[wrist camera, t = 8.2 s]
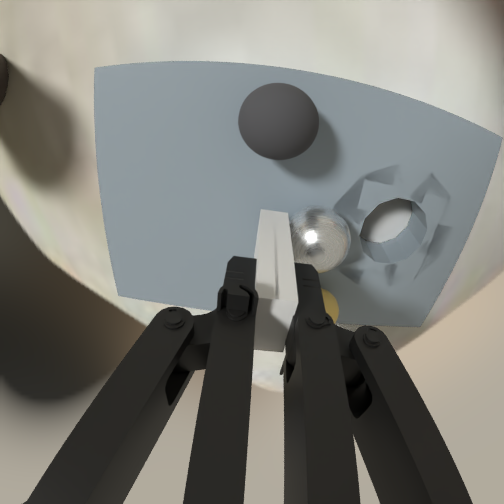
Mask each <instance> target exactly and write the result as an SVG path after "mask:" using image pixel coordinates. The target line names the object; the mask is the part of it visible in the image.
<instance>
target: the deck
mask: <svg viewBox="0 0 504 504" xmlns="http://www.w3.org/2000/svg"><path fill="white" fill-rule="evenodd" d="M270 83H286V84H290V85H293V86H295V87H297V88H299V89H301V90H302V91H304V92H305V93H306V94H307V95H308V96H309V97H310V98H311V100H312V101H313V103H314V104H315V106H316V108H317V111H318V116H319V129H318V133H317V136H316V138H315V140H314V142H313V143H312V145H311V146H310V147H309V148H308V149H307V150H306V151H305V152H303V153H302V154H300V155H299V156H296V157H294V158H291V159H286V160H272V159H268V158H265V157H262V156H260V155H258V154H257V153H255V152H254V151H253V150H251V149H250V148H249V147H248V146H247V144H246V143H245V142H244V140H243V138H242V136H241V134H240V131H239V126H238V116H239V111H240V108H241V106H242V103H243V102H244V100H245V99H246V97H247V96H248V95H249V94H250V93H251V92H252V91H254V90H255V89H257V88H259V87H261V86H263V85H266V84H270ZM94 119H95V142H96V157H97V169H98V179H99V188H100V197H101V205H102V212H103V219H104V225H105V231H106V237H107V243H108V249H109V254H110V259H111V264H112V269H113V274H114V279H115V283H116V287H117V292H118V296H122V297H128V298H133V299H139V300H145V301H151V302H157V303H163V304H169V305H176V306H183V307H189V308H196V309H203V310H211V311H213V310H215V309H216V308H217V296H218V291H219V289H220V288H221V287H222V286H223V283H224V278H225V273H226V268H227V263H228V261H229V260H230V259H231V258H232V257H233V256H240V257H248V258H254V253H255V246H256V239H257V232H258V225H259V218H260V211H261V209H263V210H271V211H278V212H286V213H288V217H289V220H290V218H291V217H292V216H293V215H294V214H295V213H296V212H298V211H299V210H301V209H303V208H305V207H308V206H313V205H321V206H326V207H329V208H331V209H333V210H335V211H336V212H338V213H339V214H340V215H341V216H342V217H343V218H344V220H345V221H346V223H347V225H348V227H349V230H350V235H351V243H350V248H349V252H348V254H347V256H346V258H345V259H344V260H343V262H342V263H341V264H340V265H339V266H337V267H336V268H334V269H333V270H331V271H328V272H324V273H318V275H319V280H320V281H319V282H320V285H321V288H322V289H325V290H327V291H329V292H330V293H331V294H332V295H333V296H334V297H335V298H336V300H337V303H338V306H339V315H338V319H337V321H336V323H341V324H357V325H376V326H402V327H420V326H421V325H422V323H423V322H424V320H425V318H426V317H427V315H428V313H429V312H430V310H431V308H432V307H433V305H434V303H435V301H436V300H437V298H438V296H439V294H440V293H441V291H442V289H443V287H444V285H445V283H446V282H447V280H448V278H449V276H450V274H451V272H452V270H453V268H454V266H455V264H456V262H457V260H458V258H459V256H460V254H461V252H462V249H463V247H464V245H465V243H466V241H467V239H468V236H469V234H470V232H471V229H472V227H473V225H474V222H475V220H476V217H477V215H478V212H479V210H480V207H481V205H482V202H483V199H484V197H485V194H486V191H487V188H488V185H489V182H490V179H491V176H492V173H493V170H494V167H495V163H496V160H497V157H498V153H499V149H500V146H501V142H502V137H500V136H498V135H496V134H495V133H493V132H491V131H489V130H487V129H485V128H483V127H481V126H479V125H476V124H474V123H472V122H470V121H468V120H466V119H463V118H461V117H459V116H457V115H454V114H452V113H450V112H447V111H445V110H442V109H440V108H437V107H435V106H432V105H429V104H427V103H424V102H421V101H418V100H416V99H413V98H410V97H407V96H404V95H401V94H398V93H394V92H391V91H388V90H385V89H381V88H378V87H374V86H370V85H367V84H363V83H359V82H355V81H351V80H347V79H342V78H338V77H333V76H328V75H324V74H318V73H313V72H307V71H301V70H295V69H289V68H281V67H274V66H265V65H256V64H245V63H231V62H209V61H167V62H146V63H132V64H122V65H112V66H104V67H97V68H95V74H94ZM395 198H401V199H406V200H410V201H411V205H412V211H413V212H412V215H411V218H410V221H409V223H408V226H407V227H406V228H405V229H404V230H403V231H402V232H401V233H400V234H399V235H398V236H397V237H396V238H394V239H391V240H388V241H386V242H383V243H376V242H369V241H365V240H364V239H363V238H361V237H360V236H359V235H360V232H361V229H362V226H363V223H364V219H365V218H366V217H367V216H368V215H369V214H370V213H371V212H372V211H373V210H374V209H375V208H376V207H377V206H378V205H379V204H381V203H384V202H387V201H389V200H392V199H395Z"/></svg>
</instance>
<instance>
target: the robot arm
mask: <svg viewBox="0 0 504 504" xmlns="http://www.w3.org/2000/svg"><path fill="white" fill-rule="evenodd" d="M319 281H320V280H319V275H318V272H317V270H316V269H315V268H314V267H313V265H312V264H303V263H295V262H294V257H293V249H292V241H291V233H290V225H289V217H288V213H286V212H278V211H271V210H263V209H261V211H260V218H259V225H258V232H257V239H256V246H255V253H254V258H248V257H240V256H233V257H232V258H231V259H230V260H229V261H228V263H227V268H226V273H225V278H224V283H223V286H222V287H221V288H220V289H219V291H218V296H217V308H216V309H215V310H213V311H212V312H210V313H207V314H203V315H195V316H192V314H191V313H190V312H189V311H188V310H186V309H184V308H180V307H168V308H165V309H163V310H161V311H160V312H159V313H158V314H156V316H155V317H154V318H153V320H152V321H151V322H150V324H149V325H148V326H147V328H146V329H145V330H144V332H143V333H142V335H141V336H140V337H139V338H138V340H137V341H136V342H135V344H134V345H133V347H132V348H131V349H130V351H129V352H128V353H127V355H126V356H125V357H124V359H123V360H122V361H121V363H120V364H119V366H118V367H117V368H116V370H115V371H114V372H113V374H112V375H111V377H110V378H109V379H108V381H107V382H106V383H105V385H104V386H103V388H102V389H101V391H100V392H99V393H98V395H97V396H96V398H95V399H94V400H93V402H92V403H91V405H90V406H89V408H88V409H87V410H86V412H85V413H84V415H83V416H82V418H81V419H80V421H79V422H78V423H77V425H76V426H75V428H74V429H73V431H72V432H71V434H70V435H69V437H68V438H67V440H66V441H65V443H64V444H63V446H62V447H61V449H60V450H59V452H58V453H57V455H56V456H55V458H54V459H53V461H52V463H51V464H50V465H49V467H48V469H47V470H46V472H45V473H44V475H43V476H42V478H41V480H40V481H39V483H38V484H37V486H36V487H35V489H34V491H33V492H32V494H31V496H30V497H29V499H28V500H27V501H26V502H25V503H23V504H123V502H124V500H125V499H126V497H127V495H128V493H129V491H130V489H131V488H132V486H133V484H134V482H135V480H136V479H137V477H138V475H139V473H140V471H141V469H142V468H143V466H144V464H145V462H146V460H147V459H148V457H149V455H150V453H151V451H152V449H153V447H154V446H155V444H156V442H157V440H158V438H159V436H160V435H161V433H162V431H163V429H164V427H165V425H166V423H167V422H168V420H169V418H170V416H171V414H172V412H173V411H174V409H175V407H176V405H177V403H178V401H179V399H180V397H181V396H182V394H183V392H184V390H185V388H186V387H187V385H188V383H189V381H190V379H191V377H192V375H193V373H194V371H195V370H202V369H206V370H205V375H204V381H203V386H202V392H201V397H200V403H199V409H198V414H197V420H196V426H195V432H194V439H193V444H192V450H191V456H190V462H189V468H188V475H187V481H186V488H185V494H184V501H183V504H243V502H244V490H245V475H246V460H247V446H248V430H249V416H250V401H251V385H252V369H253V353H254V350H264V351H274V352H283V351H284V347H285V348H286V355H285V358H284V361H283V364H282V367H281V370H280V375H282V374H283V375H284V504H360V494H359V482H358V472H357V465H356V454H355V446H354V438H353V435H354V437H355V440H356V442H357V445H358V447H359V450H360V452H361V455H362V457H363V460H364V463H365V465H366V468H367V470H368V473H369V475H370V478H371V480H372V483H373V486H374V488H375V491H376V493H377V496H378V499H379V501H380V504H473V503H472V501H471V499H470V496H469V494H468V491H467V489H466V487H465V484H464V482H463V480H462V478H461V476H460V473H459V471H458V469H457V467H456V465H455V463H454V460H453V458H452V456H451V454H450V452H449V450H448V448H447V446H446V444H445V442H444V440H443V438H442V436H441V434H440V432H439V430H438V428H437V426H436V424H435V422H434V420H433V418H432V416H431V415H430V413H429V411H428V409H427V407H426V405H425V403H424V401H423V399H422V398H421V396H420V394H419V392H418V390H417V388H416V387H415V385H414V383H413V381H412V380H411V378H410V376H409V374H408V372H407V371H406V369H405V367H404V366H403V364H402V362H401V360H400V359H399V357H398V355H397V354H396V352H395V350H394V348H393V347H392V345H391V343H390V342H389V340H388V338H387V337H386V335H385V334H384V333H383V332H382V331H381V330H379V329H378V328H376V327H372V326H362V327H359V328H358V329H357V330H356V331H355V332H352V331H349V330H346V329H343V328H341V327H338V326H337V325H335V324H334V321H333V319H332V317H331V316H330V315H329V314H328V313H326V310H325V305H324V300H323V295H322V290H321V285H320V282H319Z"/></svg>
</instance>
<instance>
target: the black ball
mask: <svg viewBox="0 0 504 504" xmlns="http://www.w3.org/2000/svg"><path fill="white" fill-rule="evenodd" d="M238 126H239V131H240V134H241V136H242V138H243V140H244V142H245V143H246V144H247V146H248V147H249V148H250V149H251V150H253V151H254V152H255V153H257V154H258V155H260V156H262V157H265V158H268V159H272V160H286V159H291V158H294V157H296V156H299V155H300V154H302V153H303V152H305V151H306V150H307V149H308V148H309V147H310V146H311V145H312V143H313V142H314V140H315V138H316V136H317V133H318V129H319V116H318V111H317V108H316V106H315V104H314V103H313V101H312V100H311V98H310V97H309V96H308V95H307V94H306V93H305V92H304V91H302V90H301V89H299V88H297V87H295V86H293V85H290V84H286V83H270V84H266V85H263V86H261V87H259V88H257V89H255V90H254V91H252V92H251V93H250V94H249V95H248V96H247V97H246V99H245V100H244V102H243V103H242V106H241V108H240V111H239V116H238Z"/></svg>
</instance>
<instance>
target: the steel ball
mask: <svg viewBox="0 0 504 504" xmlns="http://www.w3.org/2000/svg"><path fill="white" fill-rule="evenodd" d="M289 225H290V233H291V241H292V249H293V257H294V262H295V263H303V264H312V265H313V267H314V268H315V269H316V270H317V272H318V273H324V272H328V271H331V270H333V269H334V268H336V267H337V266H339V265H340V264H341V263H342V262H343V260H344V259H345V258H346V256H347V254H348V252H349V248H350V243H351V235H350V230H349V227H348V225H347V223H346V221H345V220H344V218H343V217H342V216H341V215H340V214H339V213H338V212H336V211H335V210H333V209H331V208H329V207H326V206H321V205H313V206H308V207H305V208H303V209H301V210H299V211H298V212H296V213H295V214H294V215H293V216H292V217H291V218H290V220H289Z"/></svg>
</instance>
